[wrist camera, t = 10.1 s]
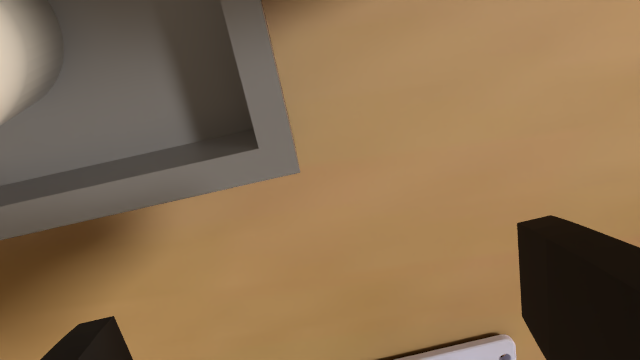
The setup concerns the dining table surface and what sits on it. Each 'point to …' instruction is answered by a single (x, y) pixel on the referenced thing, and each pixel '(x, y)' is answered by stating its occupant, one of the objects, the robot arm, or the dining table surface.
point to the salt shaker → (27, 54)
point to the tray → (146, 113)
